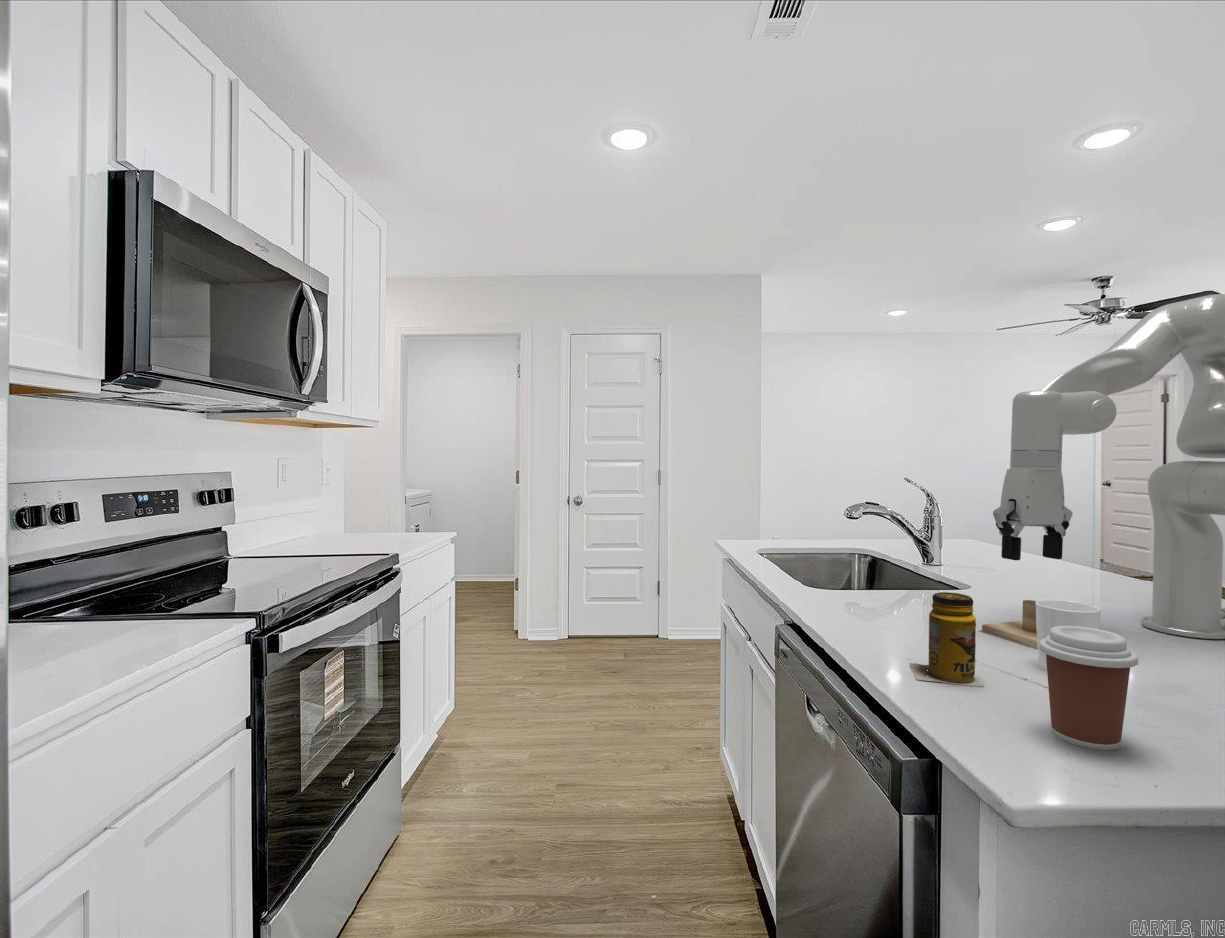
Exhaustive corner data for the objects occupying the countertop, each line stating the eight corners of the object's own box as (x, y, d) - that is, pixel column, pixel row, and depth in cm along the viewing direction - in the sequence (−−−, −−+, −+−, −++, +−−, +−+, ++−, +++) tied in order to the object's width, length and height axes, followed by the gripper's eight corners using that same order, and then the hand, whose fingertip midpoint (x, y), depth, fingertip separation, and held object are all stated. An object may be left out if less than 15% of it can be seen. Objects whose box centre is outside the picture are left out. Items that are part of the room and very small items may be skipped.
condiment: (983, 687, 88) (984, 602, 87) (916, 681, 90) (917, 597, 90) (970, 670, 95) (971, 591, 94) (909, 665, 97) (910, 587, 97)
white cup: (1110, 682, 90) (1112, 613, 89) (1049, 678, 91) (1050, 610, 91) (1081, 665, 97) (1082, 601, 97) (1025, 661, 99) (1026, 598, 99)
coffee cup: (1046, 746, 70) (1048, 639, 69) (1029, 715, 78) (1031, 619, 78) (1150, 763, 66) (1152, 649, 66) (1120, 728, 74) (1122, 628, 74)
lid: (1027, 626, 118) (1027, 593, 118) (1087, 643, 107) (1088, 607, 107) (982, 631, 115) (982, 597, 114) (1039, 648, 104) (1040, 611, 104)
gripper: (1051, 462, 117) (1047, 554, 117) (979, 460, 111) (975, 556, 112) (1092, 463, 109) (1088, 561, 110) (1017, 460, 104) (1013, 563, 104)
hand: (1031, 558), depth 111 cm, fingers open, 9 cm apart
